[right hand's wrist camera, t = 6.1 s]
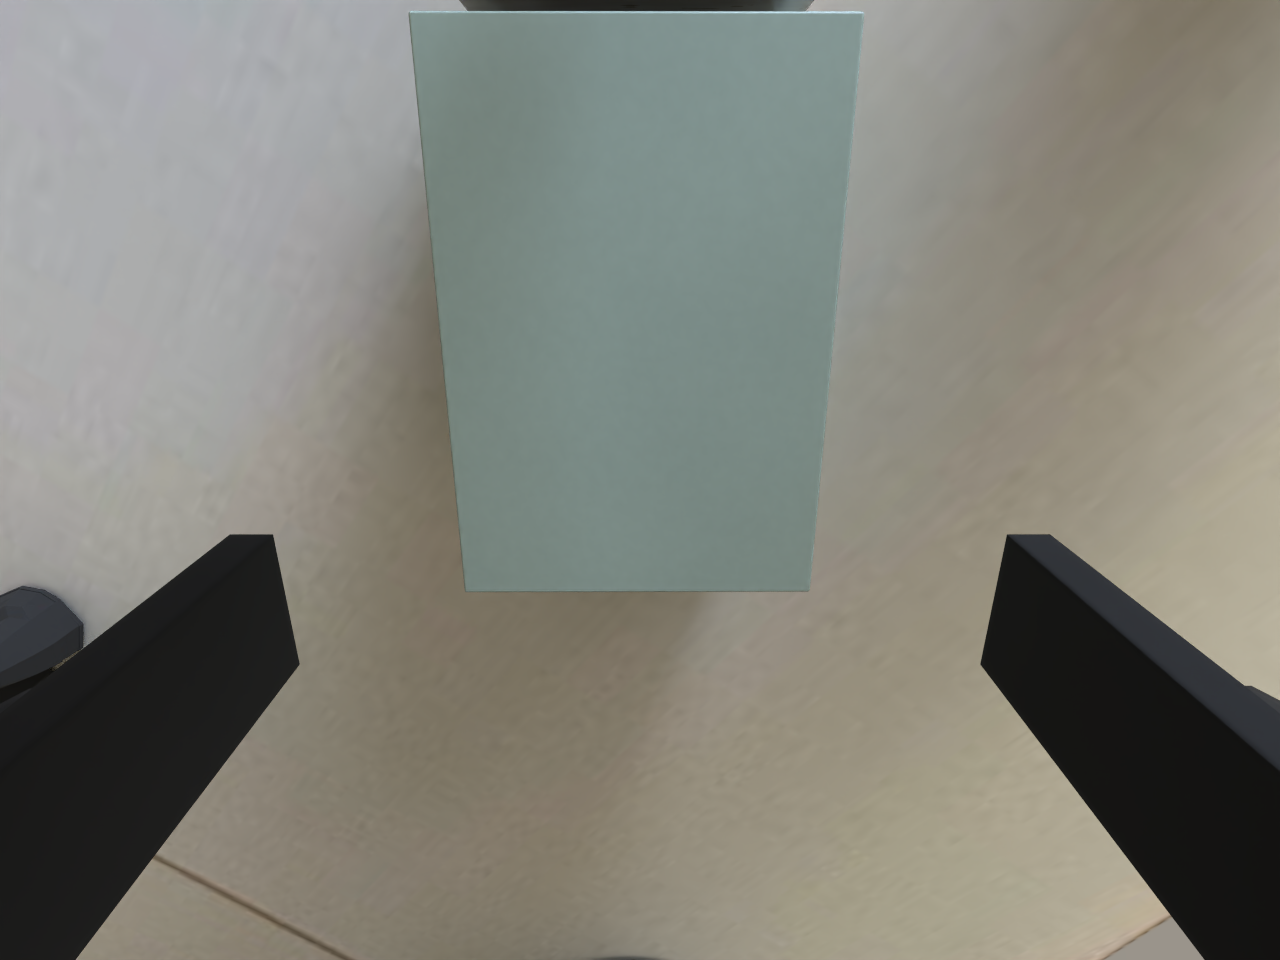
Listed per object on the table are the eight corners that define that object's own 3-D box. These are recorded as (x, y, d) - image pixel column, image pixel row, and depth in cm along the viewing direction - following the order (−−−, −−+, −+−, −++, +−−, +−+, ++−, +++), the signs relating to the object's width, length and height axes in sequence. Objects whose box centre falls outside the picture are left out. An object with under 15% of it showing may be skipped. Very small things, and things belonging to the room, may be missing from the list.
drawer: (488, -173, 24) (408, -386, 16) (784, -172, 24) (863, -385, 16) (523, 414, 31) (480, 484, 23) (751, 414, 31) (793, 484, 23)
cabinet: (492, 89, 28) (407, 10, 17) (780, 89, 28) (865, 10, 17) (517, 479, 33) (464, 593, 23) (756, 479, 33) (810, 592, 23)
